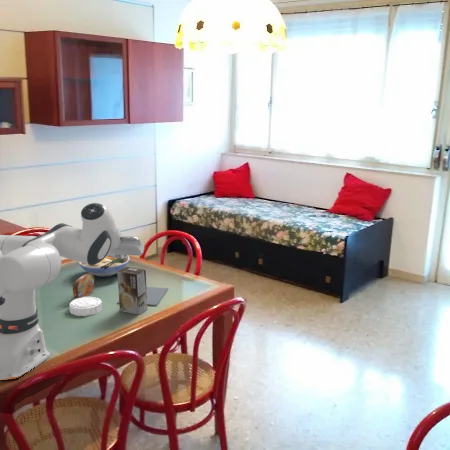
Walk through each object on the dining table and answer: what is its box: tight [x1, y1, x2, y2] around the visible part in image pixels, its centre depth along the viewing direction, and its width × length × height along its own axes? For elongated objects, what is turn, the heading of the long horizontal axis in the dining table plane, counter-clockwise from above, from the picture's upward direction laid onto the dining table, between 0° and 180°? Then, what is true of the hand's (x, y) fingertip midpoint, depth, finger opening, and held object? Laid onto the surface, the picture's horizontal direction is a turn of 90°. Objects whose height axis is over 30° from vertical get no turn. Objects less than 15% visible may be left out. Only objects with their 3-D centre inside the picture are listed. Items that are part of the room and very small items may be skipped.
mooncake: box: [68, 296, 103, 317], centre depth 198 cm, size 12×12×4 cm
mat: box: [116, 286, 169, 307], centre depth 211 cm, size 18×16×1 cm
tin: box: [72, 273, 96, 300], centre depth 210 cm, size 15×3×8 cm, turn 168°
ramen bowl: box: [78, 254, 131, 278], centre depth 235 cm, size 25×23×8 cm
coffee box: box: [116, 266, 148, 316], centre depth 196 cm, size 9×6×16 cm
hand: (119, 256), depth 179 cm, fingers closed
